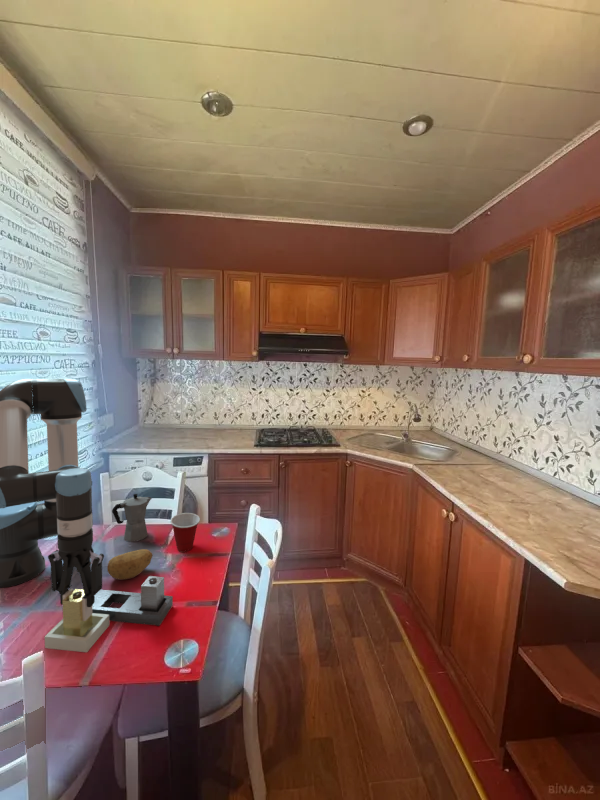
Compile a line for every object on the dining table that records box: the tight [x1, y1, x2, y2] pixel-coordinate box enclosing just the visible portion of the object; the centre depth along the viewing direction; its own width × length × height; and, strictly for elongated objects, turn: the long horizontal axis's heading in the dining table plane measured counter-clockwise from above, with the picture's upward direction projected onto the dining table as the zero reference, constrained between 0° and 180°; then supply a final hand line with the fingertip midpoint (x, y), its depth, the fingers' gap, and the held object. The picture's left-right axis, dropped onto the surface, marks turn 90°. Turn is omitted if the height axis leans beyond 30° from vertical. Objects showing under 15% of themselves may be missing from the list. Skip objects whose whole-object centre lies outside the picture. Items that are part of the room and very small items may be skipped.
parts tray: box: [44, 613, 110, 653], centre depth 90 cm, size 11×9×3 cm
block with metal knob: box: [62, 588, 92, 637], centre depth 90 cm, size 4×4×10 cm
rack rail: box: [92, 589, 174, 627], centre depth 100 cm, size 24×8×3 cm, turn 86°
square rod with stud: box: [140, 575, 165, 612], centre depth 99 cm, size 4×4×10 cm
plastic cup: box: [170, 512, 201, 553], centre depth 134 cm, size 11×11×12 cm
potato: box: [106, 548, 153, 581], centre depth 116 cm, size 10×14×8 cm
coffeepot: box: [111, 493, 153, 542], centre depth 140 cm, size 15×9×18 cm, turn 138°
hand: (78, 615), depth 90 cm, fingers closed on block with metal knob, 4 cm apart
